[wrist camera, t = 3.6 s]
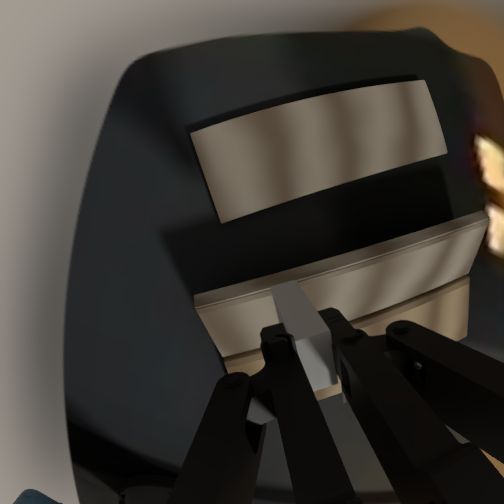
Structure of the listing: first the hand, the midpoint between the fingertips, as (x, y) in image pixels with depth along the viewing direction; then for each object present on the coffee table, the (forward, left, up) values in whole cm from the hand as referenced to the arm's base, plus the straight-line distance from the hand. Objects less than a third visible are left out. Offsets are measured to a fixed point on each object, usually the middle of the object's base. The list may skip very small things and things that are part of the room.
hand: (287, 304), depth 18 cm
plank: (+9, +9, -10) cm, 16 cm away
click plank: (+8, -3, -8) cm, 11 cm away
